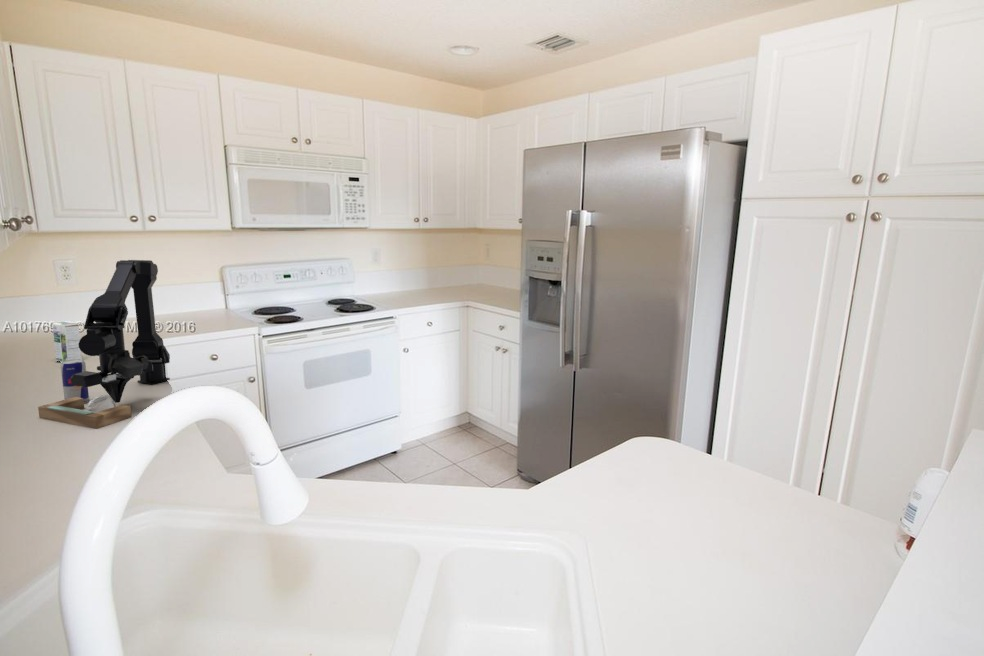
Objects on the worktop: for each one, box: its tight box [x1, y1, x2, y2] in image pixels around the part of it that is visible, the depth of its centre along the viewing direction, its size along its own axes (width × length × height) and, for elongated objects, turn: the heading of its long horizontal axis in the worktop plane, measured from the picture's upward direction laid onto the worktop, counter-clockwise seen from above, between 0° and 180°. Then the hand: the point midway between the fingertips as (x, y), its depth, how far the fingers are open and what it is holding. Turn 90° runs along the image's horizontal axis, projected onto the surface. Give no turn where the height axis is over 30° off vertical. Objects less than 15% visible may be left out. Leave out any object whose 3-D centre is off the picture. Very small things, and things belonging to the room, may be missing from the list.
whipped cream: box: [86, 394, 118, 413], centre depth 135 cm, size 8×7×5 cm
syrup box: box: [51, 321, 83, 363], centre depth 183 cm, size 6×6×14 cm
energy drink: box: [60, 358, 90, 404], centre depth 141 cm, size 5×5×12 cm
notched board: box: [37, 397, 132, 429], centre depth 131 cm, size 9×20×3 cm, turn 73°
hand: (117, 402), depth 139 cm, fingers closed
